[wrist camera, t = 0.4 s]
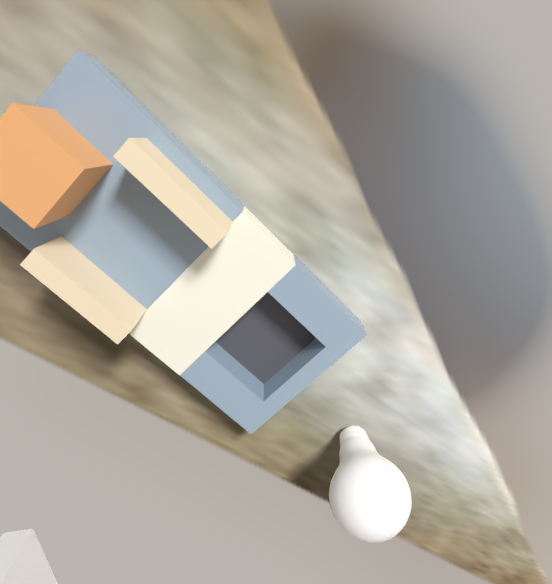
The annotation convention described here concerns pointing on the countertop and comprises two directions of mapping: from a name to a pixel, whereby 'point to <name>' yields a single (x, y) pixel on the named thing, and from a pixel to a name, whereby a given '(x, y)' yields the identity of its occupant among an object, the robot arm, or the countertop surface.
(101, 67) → the tunnel deck
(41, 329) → the countertop surface
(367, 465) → the lightbulb
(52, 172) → the block
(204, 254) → the pad
